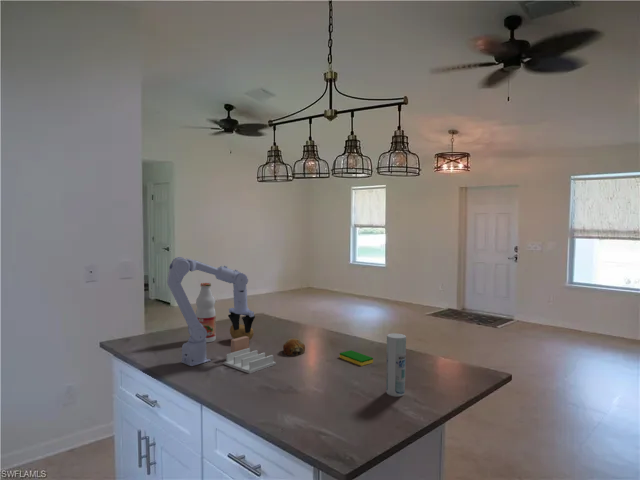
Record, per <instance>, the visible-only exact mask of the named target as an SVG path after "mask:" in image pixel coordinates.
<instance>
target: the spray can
mask: <svg viewBox="0 0 640 480" xmlns="http://www.w3.org/2000/svg"><path fill="white" fill-rule="evenodd" d="M406 352H407V336H406V335H405V334H402V333H396V332H395V333H388V334H387V335H386V377H385V379H386V387H385V390H386V394H387V395H388V396H390V397H396V398H397V397H403V396H405V388H406V358H407V357H406V355H407V353H406Z"/></svg>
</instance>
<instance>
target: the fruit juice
mask: <svg viewBox="0 0 640 480" xmlns="http://www.w3.org/2000/svg"><path fill="white" fill-rule="evenodd" d="M211 287H212V283H211V282H201V283H200V290H199V294H198V296H197V298H196V300H195V303H196V311H195V314H196V316H197V318H198V320H199V322H200V323H201V324H202V325H203V327H204V328H205V329H206V331H207V336H206V344H207V343H212V342H214V341H216V337H217V336H216V335H217V334H216V333H217V330H216V329H217V328H216V327H217V324H216V323H217V317H216V316H217V313H216V309H215V305H216V298H215V297H214V294H213V292H212V289H211Z"/></svg>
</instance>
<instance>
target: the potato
mask: <svg viewBox="0 0 640 480" xmlns="http://www.w3.org/2000/svg"><path fill="white" fill-rule="evenodd" d="M254 334H255V332H254V329H253V328H252V327H251V330H250V332H249V333H246V332H245V326H244V324H243V323H242V324H240V323H239V329H238V330H234V328H233V325H230V328H229V335H230V336H231V338H233V339H236V338H240V337H244V336H247V337H249V341H250V340H251V339H252V338H253V337H254Z"/></svg>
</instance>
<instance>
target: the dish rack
mask: <svg viewBox="0 0 640 480" xmlns="http://www.w3.org/2000/svg"><path fill="white" fill-rule="evenodd" d="M276 363H277V362H276V361H274V355H273V354H270V355H267V356H266V352H262V353H258V350H257V349H254V350H252V351H251V348H250V347H249V348H247V349H243V350H240V351H236V352H233V353H231V352H230V353H226V355H225V361H223V365H225V366H226V367H230V368H233V369H236V370H239V371H242V372H244V373H247V374H252V373H255V372H258V371H261V370H264V369H266V368H267V369H268V368H269V367H273V366H276Z"/></svg>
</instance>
